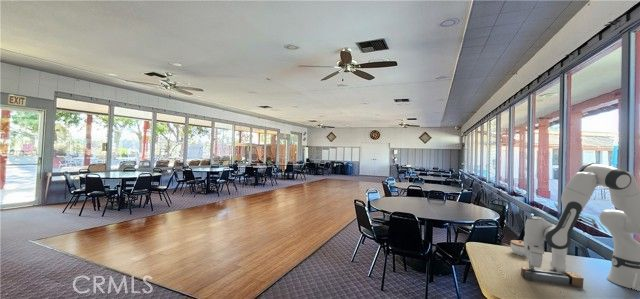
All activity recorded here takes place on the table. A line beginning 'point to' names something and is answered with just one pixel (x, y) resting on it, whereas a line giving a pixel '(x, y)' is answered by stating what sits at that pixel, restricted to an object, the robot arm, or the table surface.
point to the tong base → (556, 278)
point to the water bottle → (558, 259)
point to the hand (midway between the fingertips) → (531, 269)
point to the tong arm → (541, 272)
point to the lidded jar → (518, 247)
